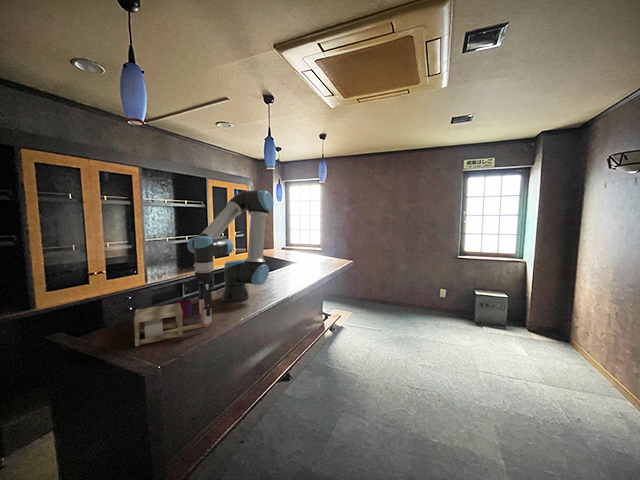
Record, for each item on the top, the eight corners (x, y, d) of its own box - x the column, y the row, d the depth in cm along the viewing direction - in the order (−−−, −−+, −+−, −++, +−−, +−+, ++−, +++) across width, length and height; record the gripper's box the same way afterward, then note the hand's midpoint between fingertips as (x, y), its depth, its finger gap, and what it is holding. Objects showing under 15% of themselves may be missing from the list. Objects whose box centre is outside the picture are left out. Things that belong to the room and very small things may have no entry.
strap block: (208, 322, 118) (207, 299, 117) (211, 326, 113) (210, 302, 112) (145, 334, 105) (144, 309, 104) (145, 340, 100) (143, 313, 99)
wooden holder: (180, 325, 115) (179, 303, 114) (183, 335, 104) (182, 311, 103) (137, 333, 106) (135, 309, 105) (135, 346, 95) (133, 320, 95)
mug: (194, 313, 128) (194, 300, 128) (177, 321, 119) (176, 306, 118) (185, 311, 131) (184, 298, 130) (167, 318, 122) (166, 305, 121)
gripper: (191, 267, 121) (192, 310, 123) (199, 277, 100) (200, 329, 102) (208, 265, 125) (209, 307, 127) (219, 275, 104) (220, 325, 106)
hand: (205, 317), depth 114 cm, fingers open, 13 cm apart
